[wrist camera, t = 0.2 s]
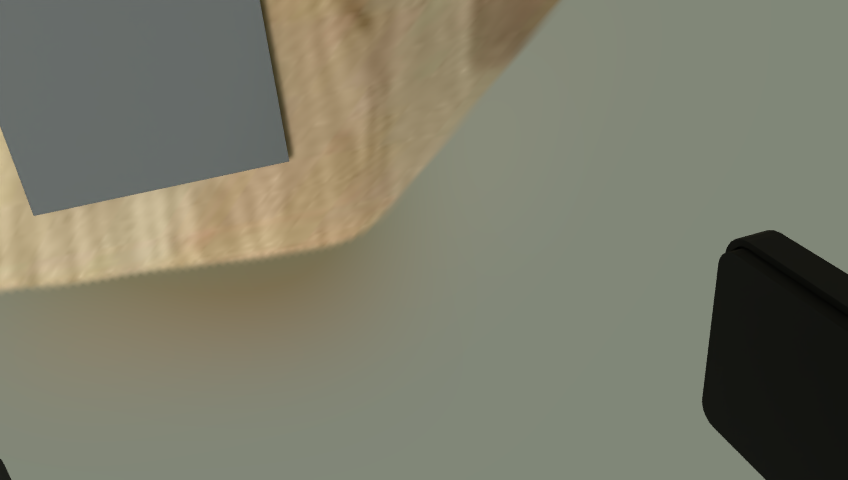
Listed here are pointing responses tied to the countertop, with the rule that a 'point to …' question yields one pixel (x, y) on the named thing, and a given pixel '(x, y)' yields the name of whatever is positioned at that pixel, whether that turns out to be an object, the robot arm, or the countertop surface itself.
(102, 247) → the countertop surface
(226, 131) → the mat
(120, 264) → the countertop surface
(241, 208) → the countertop surface
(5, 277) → the countertop surface
